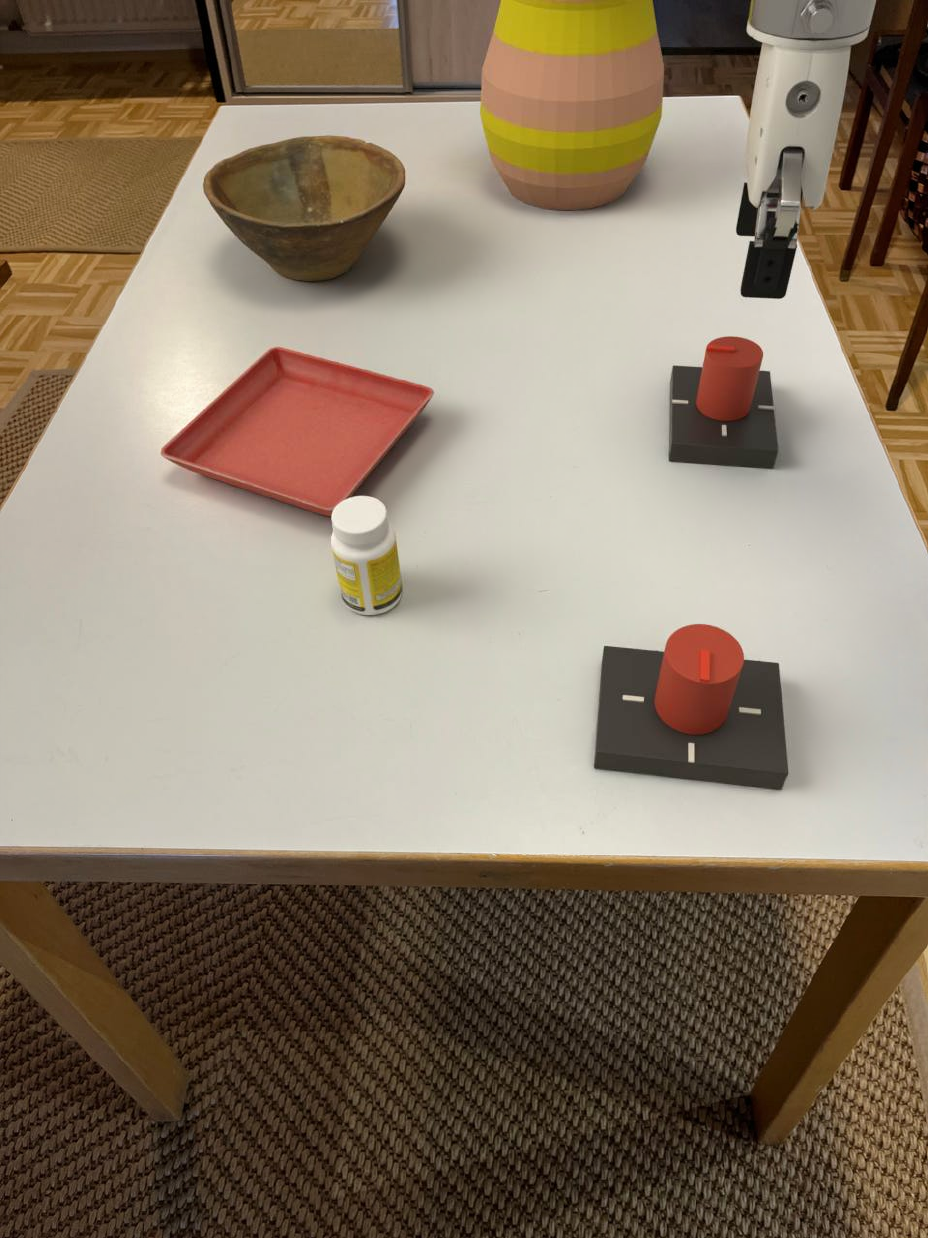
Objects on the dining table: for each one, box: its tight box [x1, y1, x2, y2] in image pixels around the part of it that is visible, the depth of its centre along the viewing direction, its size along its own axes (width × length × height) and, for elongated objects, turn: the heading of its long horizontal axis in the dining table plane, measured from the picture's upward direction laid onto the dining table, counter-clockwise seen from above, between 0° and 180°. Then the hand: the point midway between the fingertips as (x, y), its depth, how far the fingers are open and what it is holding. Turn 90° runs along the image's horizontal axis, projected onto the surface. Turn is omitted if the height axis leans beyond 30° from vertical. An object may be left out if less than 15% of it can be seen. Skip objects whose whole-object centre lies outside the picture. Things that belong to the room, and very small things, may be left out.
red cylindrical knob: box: [696, 335, 764, 421], centre depth 81 cm, size 5×5×6 cm
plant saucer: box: [159, 346, 435, 517], centre depth 83 cm, size 18×18×3 cm
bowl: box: [202, 134, 406, 282], centre depth 103 cm, size 22×23×10 cm
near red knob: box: [655, 623, 745, 735], centre depth 59 cm, size 5×5×6 cm
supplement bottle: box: [330, 495, 403, 616], centre depth 69 cm, size 5×5×8 cm
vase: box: [479, 0, 665, 211], centre depth 107 cm, size 22×22×30 cm
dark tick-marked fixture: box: [593, 645, 789, 791], centre depth 62 cm, size 12×9×2 cm
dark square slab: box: [668, 365, 779, 470], centre depth 84 cm, size 12×9×2 cm
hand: (758, 263), depth 71 cm, fingers open, 9 cm apart
